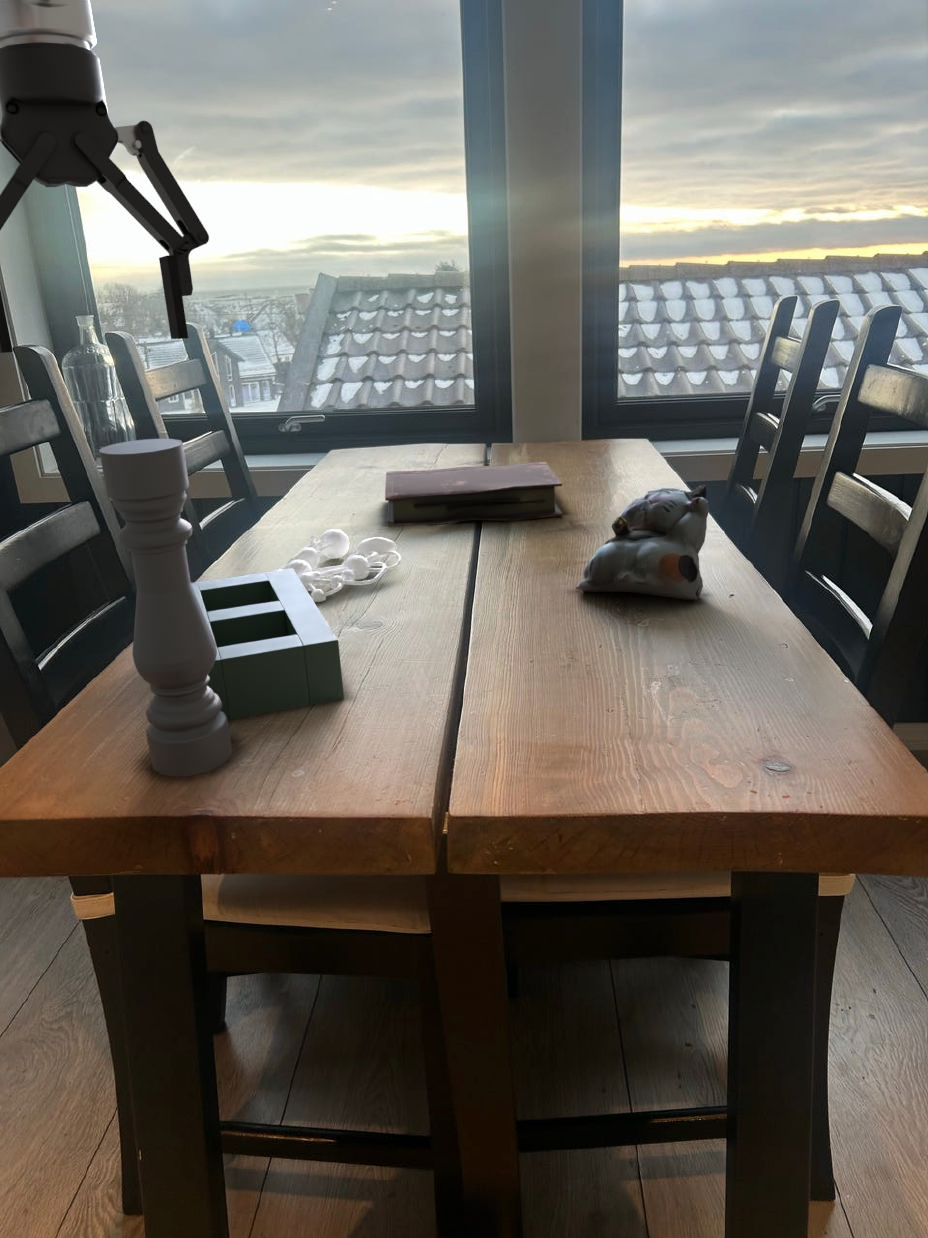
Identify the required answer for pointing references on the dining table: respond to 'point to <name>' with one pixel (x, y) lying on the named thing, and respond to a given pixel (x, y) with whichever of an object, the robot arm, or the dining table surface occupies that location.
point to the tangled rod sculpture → (351, 568)
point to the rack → (268, 644)
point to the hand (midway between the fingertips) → (96, 345)
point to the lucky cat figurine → (653, 547)
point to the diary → (471, 494)
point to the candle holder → (167, 607)
